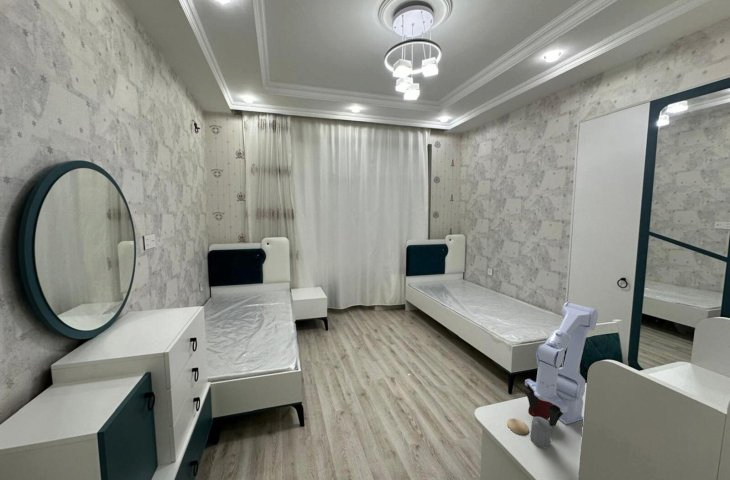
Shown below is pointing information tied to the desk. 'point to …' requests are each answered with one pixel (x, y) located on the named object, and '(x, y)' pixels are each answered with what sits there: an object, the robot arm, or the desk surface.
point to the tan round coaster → (518, 426)
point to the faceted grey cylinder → (540, 432)
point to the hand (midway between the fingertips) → (542, 416)
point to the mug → (541, 409)
